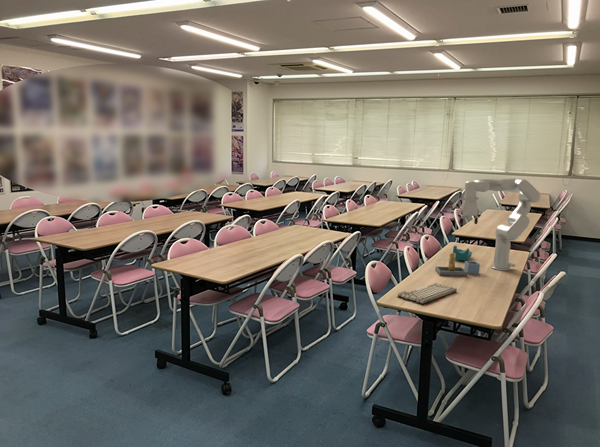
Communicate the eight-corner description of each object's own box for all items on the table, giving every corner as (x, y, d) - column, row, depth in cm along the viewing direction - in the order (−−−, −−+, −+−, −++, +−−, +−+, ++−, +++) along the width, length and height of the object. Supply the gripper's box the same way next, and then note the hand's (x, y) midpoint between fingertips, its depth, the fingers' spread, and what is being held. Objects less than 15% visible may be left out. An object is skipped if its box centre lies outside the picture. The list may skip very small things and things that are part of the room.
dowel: (453, 271, 317) (454, 252, 315) (454, 273, 313) (456, 254, 311) (447, 271, 317) (448, 252, 315) (448, 272, 313) (450, 254, 311)
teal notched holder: (466, 263, 347) (468, 249, 345) (451, 259, 352) (453, 246, 350) (470, 258, 362) (473, 245, 360) (456, 254, 367) (459, 242, 365)
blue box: (475, 271, 323) (476, 261, 321) (478, 274, 315) (479, 264, 314) (464, 271, 323) (464, 261, 322) (467, 274, 315) (468, 264, 314)
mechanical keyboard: (431, 285, 290) (431, 280, 289) (459, 293, 276) (460, 288, 276) (395, 298, 264) (395, 293, 264) (424, 308, 251) (425, 302, 250)
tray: (461, 271, 321) (461, 267, 321) (467, 276, 309) (467, 272, 309) (435, 270, 322) (435, 266, 321) (439, 275, 310) (440, 271, 309)
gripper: (480, 198, 322) (479, 222, 325) (455, 198, 323) (454, 222, 326) (484, 199, 315) (483, 224, 318) (459, 199, 315) (457, 224, 318)
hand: (468, 223), depth 322 cm, fingers open, 9 cm apart
